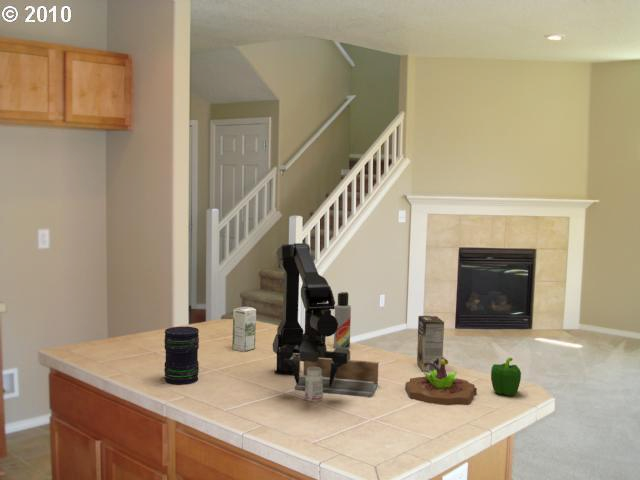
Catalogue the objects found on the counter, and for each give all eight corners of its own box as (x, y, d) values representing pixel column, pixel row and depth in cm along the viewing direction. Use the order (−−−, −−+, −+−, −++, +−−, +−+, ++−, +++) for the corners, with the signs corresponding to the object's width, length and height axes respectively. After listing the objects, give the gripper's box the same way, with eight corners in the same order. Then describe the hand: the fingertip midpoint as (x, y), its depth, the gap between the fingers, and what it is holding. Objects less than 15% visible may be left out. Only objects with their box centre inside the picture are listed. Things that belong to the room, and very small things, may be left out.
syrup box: (243, 346, 242) (243, 306, 241) (255, 349, 239) (256, 308, 237) (232, 349, 237) (232, 308, 236) (244, 352, 234) (245, 310, 233)
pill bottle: (324, 397, 188) (325, 367, 187) (319, 402, 183) (319, 371, 182) (308, 395, 189) (309, 365, 188) (302, 400, 185) (303, 369, 184)
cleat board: (294, 389, 194) (295, 365, 193) (304, 379, 204) (305, 356, 204) (371, 397, 189) (372, 372, 188) (377, 385, 199) (378, 362, 199)
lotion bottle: (348, 350, 240) (349, 293, 238) (332, 349, 241) (333, 292, 239) (350, 346, 246) (352, 291, 244) (335, 345, 247) (336, 290, 245)
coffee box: (416, 364, 224) (417, 315, 222) (435, 364, 224) (437, 315, 223) (422, 372, 215) (424, 321, 213) (442, 372, 215) (444, 321, 214)
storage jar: (205, 378, 203) (205, 328, 201) (185, 387, 194) (185, 335, 193) (177, 373, 207) (178, 325, 206) (157, 382, 198) (157, 331, 197)
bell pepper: (504, 399, 189) (506, 364, 188) (484, 391, 197) (486, 356, 196) (527, 395, 193) (529, 360, 192) (506, 387, 200) (508, 354, 200)
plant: (403, 403, 186) (404, 362, 185) (406, 382, 205) (407, 345, 204) (478, 408, 182) (480, 367, 181) (474, 387, 201) (476, 349, 200)
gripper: (273, 332, 179) (272, 390, 180) (343, 337, 175) (341, 397, 176) (285, 323, 190) (284, 378, 191) (351, 328, 185) (349, 384, 187)
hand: (313, 384), depth 186 cm, fingers open, 9 cm apart
